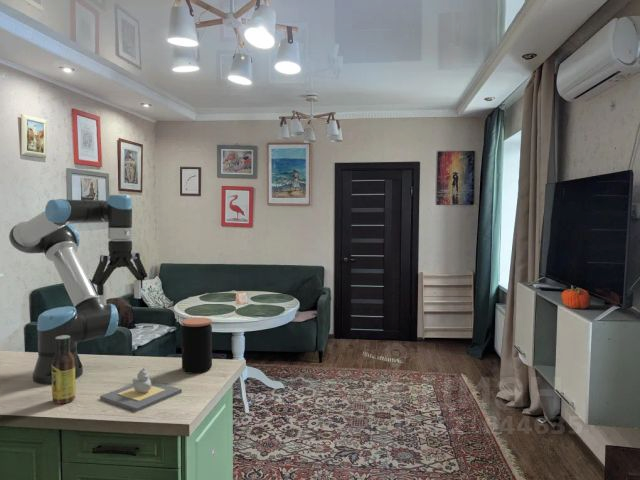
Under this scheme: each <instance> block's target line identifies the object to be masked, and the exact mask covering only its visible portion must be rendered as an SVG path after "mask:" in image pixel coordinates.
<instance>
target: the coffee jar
mask: <svg viewBox="0 0 640 480" xmlns="http://www.w3.org/2000/svg"><path fill="white" fill-rule="evenodd" d="M211 324H212V319H211V318H209V317H190V318H186V319H182V320H181V325H182V328H181V367H182V370H183V371H184V372H185V373H187V374H201V373H203V374H204V373H206V372H208V371H210V369H211V368H212V366H213V326H212V325H211Z"/></svg>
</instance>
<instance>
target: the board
mask: <svg viewBox="0 0 640 480" xmlns="http://www.w3.org/2000/svg"><path fill="white" fill-rule="evenodd" d="M150 381H151V389H150V390H149V391H147V392H144V393H140V392H137V391H135V390H134V384H133V383H132V384H129V385H127V386H124V387H121V388H119V389H118V388H117V389H116V390H113V391H109V392H107V393H105V394H102V395H100V396H99V399H100V400H101V401H104V402H107V403H110V404H112V405H116V406H119V407H122V408H125V409H127V410H131V411H133V412H136V413H137V412H140V411H143V410H145V409H147V408H149V407H151V406H154V405H156V404H158V403H160V402H163V401H165V400H167V399H169V398H173V397H174V396H177V395H179V394H181V393H182V391H183V389H182V388H178V387H175V386H171V385H170V384H169V385H167V384H164V383H161V382H158V381H154V380H151V379H150Z"/></svg>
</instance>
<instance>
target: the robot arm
mask: <svg viewBox="0 0 640 480" xmlns="http://www.w3.org/2000/svg"><path fill="white" fill-rule="evenodd" d="M71 223H107V225H108V226H107V228H108V229H107V231H108V232H107V239H108V243H107V245H108V247H107V248H108V253H109V254H108V255H105V254H100V255H99V256H100V257H99V262H98V265H97V267H96V270H95V272H94V274H93V277H92V279H91V280H90V278H89V277H88V274H87V272H86V269H85V268H84V266H83V265H82V262H81V261H80V258H79V256H78V254H77V251H78V248H79V246H80V238H79V237H80V235H79V233H78V230H77V228H75V226H73V225H72V224H71ZM8 238H9V242H10V244H11V245H12V247H13V248H14V249H16V250H17V251H19V252H22V253H25V254H44V255H45V257H46V259H47V260H48V261H50V262H53V264H54V267H55V268H56V271H57V273H58V275H59V277H60V279H61V281H62V283H63V286H64V288H65V290H66V292H67V294H68V296H69V298H70V301H71V303H72V304H73V306H69V305H67V306H62V307H61V306H59V307H54V308H51V309H47V310H45V311H43V312H42V313H40V314H39V315H38V318H37V326H36V329H37V351H38V352H37V353H38V357H37V360H36V363H35V366H34V368H33V372H32V381H33V382H34V383H36V384H43V385H45V384H47V385H49V384H51V385H52V367H51V364H52V361H53V358H54V356H55V353H56V343H55V338H56V337H58V336H62V335H69V336H70V339H71V341H70V351H71V353H72V354H73V356H74V359H75V379H77V378H79V377H81V376H82V375H83V373H84V370H83V369H84V368H83V364H82V361H81V359H80V356H79V354H78V348H77V347H78V346H77V344H78V343H82V342H86V341H90V340H94V339H100V338H105V337H108V336H112V334H113V335H114V333H115V332H116V330H117V329H118V325H119V320H120V319H119V312H118V309H117V307H116V305H115V304H113V303H108V304H107V285H105V283H106V282H107V281H108V280H109V278H110V276H111V275H112V273H113V272H114V271H115V270H116V269H119V268H127V269H128V270H129V272H130V274H132V275H133V277H135V279H134V281H133V284H134V285H133V290H134V291H133V298H134V299H142V289H143V281H144V280H145V278H148V273H147V271H146V269H145V267H144V264H143V263H142V261H141V257H140V256H141V255H140V253H139V252H133V241H132V239H133V202H132V196H130V195H127V194H109V195H108V197H107V200H103V199H100V200H99V199H97V200H96V199H93V200H92V199H91V200H89V199H64V198H58V199H49V201H47V204H45V208H44V211H42V212H41V213H39V214H38V215H35V216H34V217H33V218H31V219H29V220H28V221H21V222H19V223H17V224H16V225H14V226H13V227H12V228H11V229H10V231H9V235H8ZM134 265H135V266H134ZM93 285H95V286H96V291H95V288H94V286H93Z"/></svg>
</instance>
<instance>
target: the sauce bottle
mask: <svg viewBox="0 0 640 480" xmlns="http://www.w3.org/2000/svg"><path fill="white" fill-rule="evenodd" d="M70 341H71V339H70V336H69V335H62V336H58V337H56V338H55V343H56V353H55V356H54V358H53V361H52V364H51V367H52V384H51V396H52V397H51V398H52V401H53V403H55V404H56V405H58V404H61V405H63V404H67V403H71V402H73V401H74V400H75V398H76V394H77V393H76V390H77V389H76V378H75V359H74V356H73V354H72V353H71V351H70Z"/></svg>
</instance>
